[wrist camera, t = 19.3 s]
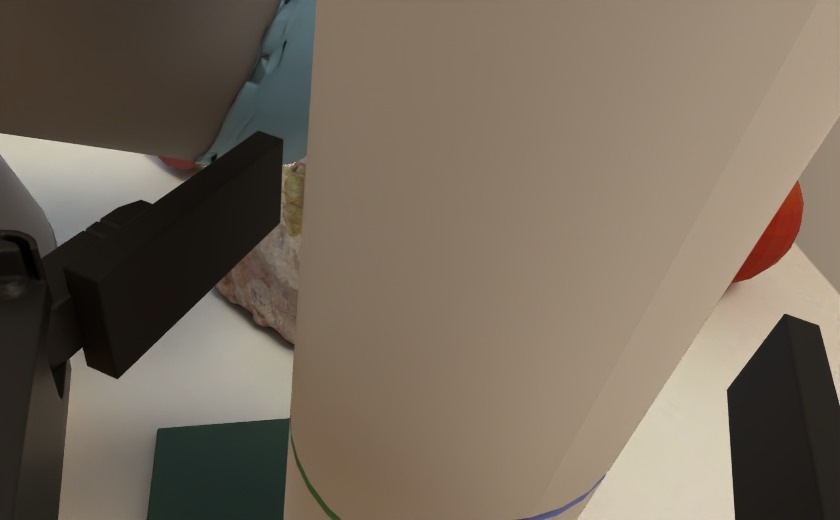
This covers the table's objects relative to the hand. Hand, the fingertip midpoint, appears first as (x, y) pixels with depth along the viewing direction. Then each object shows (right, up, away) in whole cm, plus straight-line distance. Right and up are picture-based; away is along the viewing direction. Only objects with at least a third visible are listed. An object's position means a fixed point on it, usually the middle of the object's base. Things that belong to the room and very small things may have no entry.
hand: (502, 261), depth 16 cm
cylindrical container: (-3, -12, +5) cm, 14 cm away
